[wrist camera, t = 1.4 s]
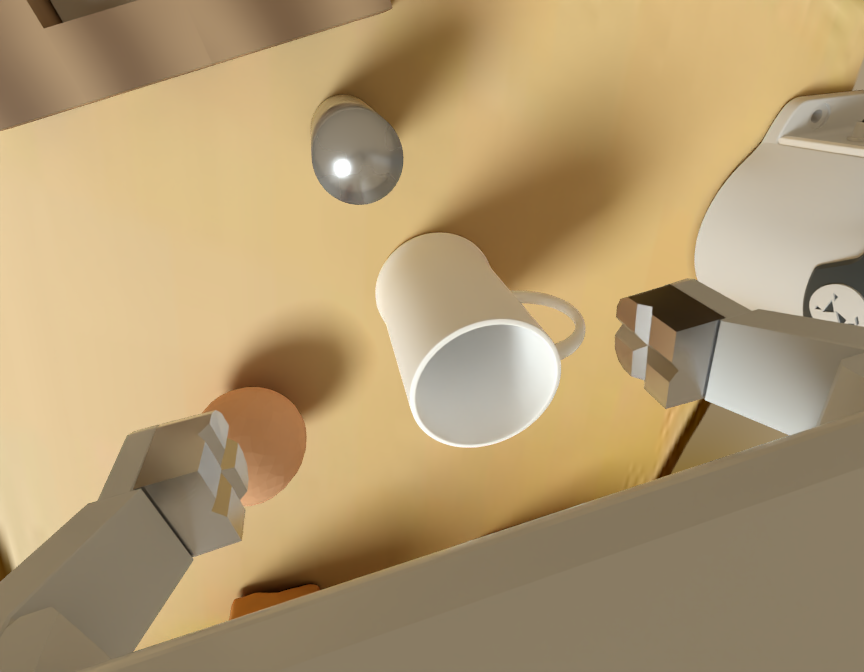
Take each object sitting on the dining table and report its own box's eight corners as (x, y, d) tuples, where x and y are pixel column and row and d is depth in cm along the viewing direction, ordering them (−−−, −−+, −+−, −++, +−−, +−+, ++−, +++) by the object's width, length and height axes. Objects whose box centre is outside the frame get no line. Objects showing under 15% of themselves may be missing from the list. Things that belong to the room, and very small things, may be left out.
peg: (367, 85, 27) (387, 96, 20) (388, 157, 29) (413, 189, 22) (299, 106, 26) (296, 125, 20) (326, 177, 29) (331, 216, 22)
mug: (538, 223, 33) (639, 298, 23) (526, 328, 38) (606, 429, 28) (371, 236, 31) (401, 325, 21) (378, 346, 35) (407, 463, 25)
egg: (226, 350, 33) (204, 433, 26) (323, 386, 36) (327, 468, 29) (186, 425, 35) (155, 521, 28) (280, 452, 38) (274, 544, 31)
